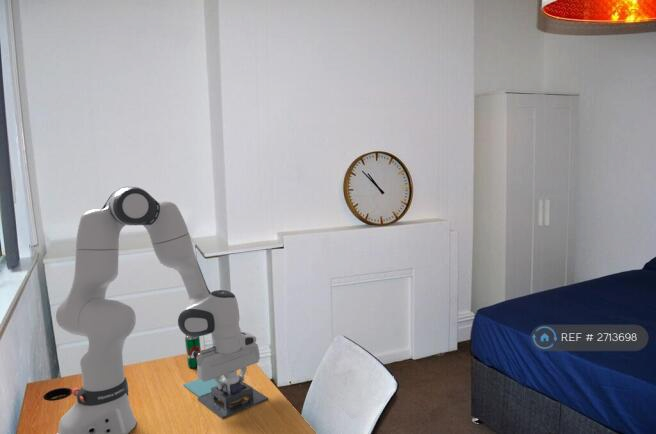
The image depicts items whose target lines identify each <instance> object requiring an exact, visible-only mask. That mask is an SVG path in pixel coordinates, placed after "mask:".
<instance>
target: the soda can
mask: <svg viewBox="0 0 656 434" xmlns="http://www.w3.org/2000/svg"><path fill="white" fill-rule="evenodd" d="M184 341H185V351H186V360H187V367H189V368H190V369H197V366H198V364H197V355H198V354H199V353H200V351H202V349H201V339H200V336H198V337H190V336H187V335H185V337H184Z"/></svg>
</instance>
